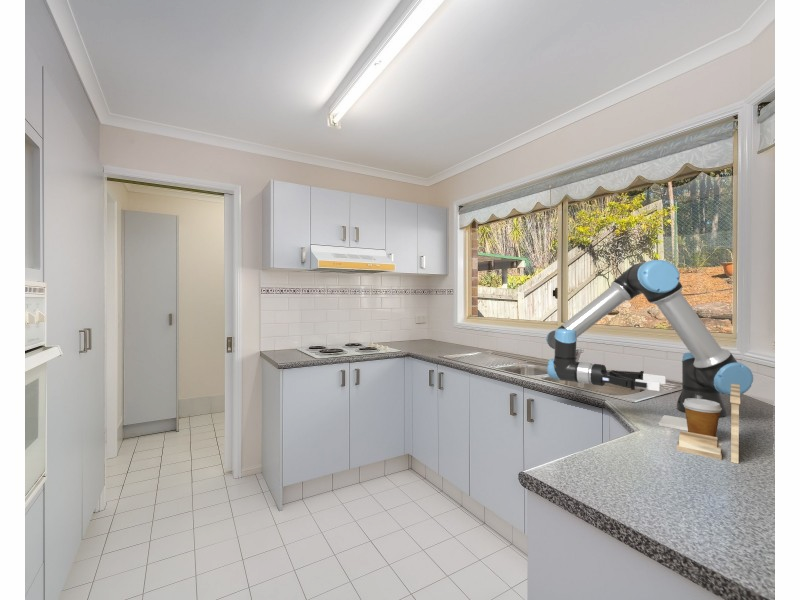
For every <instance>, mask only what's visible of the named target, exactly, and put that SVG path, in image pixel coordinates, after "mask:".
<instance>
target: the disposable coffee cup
mask: <svg viewBox="0 0 800 600" xmlns="http://www.w3.org/2000/svg"><path fill="white" fill-rule="evenodd" d="M683 405H684V407H685V412H684V413H685V419H686V420H687V427H688V431H687V432H691V433H696V434H701V435H707V436H712V437H717V431H718V426H719V419H720V417H719V415H720V412H721V410H722V408H721V407H720V404H719V403H717V402H714V401H710V400H705V399H696V398H688V399H685V401H684V403H683Z"/></svg>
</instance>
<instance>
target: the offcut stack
mask: <svg viewBox="0 0 800 600" xmlns="http://www.w3.org/2000/svg"><path fill="white" fill-rule="evenodd" d="M678 437H679V438H678V441H677V444H676V446H675V447H676V450H675V451H677V452H682V453H686V454H691V455H695V454H696V455H695V456H701V457H705V458H710V459H715V460H719V461H723V460H722V458H723V449H722V443H718V441H719V440H718V437H717V436H716V437H712V436H707V435H701V434H696V433H691V432H688V431H686V430H680V433H679V436H678Z"/></svg>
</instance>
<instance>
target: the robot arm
mask: <svg viewBox="0 0 800 600" xmlns="http://www.w3.org/2000/svg"><path fill="white" fill-rule="evenodd" d="M680 277H681V275H680V272H679V270H678V268H677V266H676V265H674V264H673V263H671V262H670V261H667V260H664V259H663V260H662V259H651V260H647V261H644V262H638V263H636V264H634V265H631V266H630V267H628V268H627V269H626V270H625V271H624V272H623V273H621V274H620V275H619V276H617V278H615V279H614V280H613V281H612V282H611V283H610V286H609V288H607V289H606V290H604V292H603V291H602V293H600V295H599V296H597V297H596V298H594V299H593V300H592V301H591V302H589V303H588V304H587V305H586V306H584V307H583V308H582V309H581V310H579V311H578V312H577V313H575V314H574V315H573V316H571V318H569V319H568V320H567V321H565V322H564V323H563V324H561V325H560V326H558V328H556V329H555V330H552V331H550V332H549V333H547V335H546V339H545V340H546V343H547V345H548V346H549V347H550V348H551V349H553V350H554V357H553V358H551V359H550V358H549V360H548V362H547V366H546V368H547V369H546V371H547V375H548V377H549V378H551V379H556V380H559V381H567V382H575V383H582V385H586V384H588V385H591V384H592V385H593V386H600V387H603V386H605V384H606V383H607V384H610V385H615V386H619V387H623V388H627V389H630V390H633V391H635V389H636V388H637V389H641V390H649V391H657V392H660V391H661V389H660V388H661V385H666V383H667V375H660V374H651V373H645V372H644V371H643V370H640V371H628V370H627V371H625V370H624V371H623V370H613V369H611V370H610V371H607V367H606V365H605V364H602V363H601V364H599V363H594V364H593V362H592V363H590V362H585V361H584V362H582V361H577V342H578V341H577V340H578V339H577V338H579V337H580V336H582V334H584V333H585V332H586V331H588V330H589V329H590V328H592V327H593V326H594V325H596V324H597V323H598V322H599V321H601V320H603V318H604V317H606V316H607V315H609V314H610V313H612V311H613V310H615V309H616V308H617V307H619V306H620V305H621V304H623V303H624V302H626V301H631V300H632V299H633V298H635V297H637V296H639V295H641V294H643V297H644V298H645V299H646V300H647V301H648V303H650V304H653V305H656V306H657V308H658V309H659V310H660V312H661V313H662V315H663V316H664V317H665V319H666V320H667V321H668V323H669V325H670V326H671V327H672V329H673V330H674V331H675V333H676V334H677V336H678V337H679V339H680V340H681V342H682V343H683V344H684V345H685V347H686V349H687V350H688V352H685V353H683V354H682V361H681V363H682V364H681V367H682V372H681V373H682V374H681V375H682V383H681V384H682V389H681V392H680V394H679V397H678V399H677V400H676V401H677V402H676V409H677V410H679V411H681V412H683V413H685V407H684V405H683V403H684V401H685V399H688V398H696V399H705V400H710V401H714V402H717V403H719V404H720V407H721V408H722V410H721V412H720V415H719V418H722V417H726V416H727V409H726V406H725V403H724V401H723V398H722V396H721V394H722V395H726V396H730V393H731V383H732V384H739V385H740V396H741V395H743V394H745V393H747V392H748V391H749V390H750V388H751V387H752V385H753V382H754V375H753V372H752V370H751V369H750V368H749V367H748V366H747V365H745V364H744V363H740V362H738V361H737V359H736V358H735V357H734V356H733V355H734V354H732V352H731V351H730V350H728V349H725V348H722V347H721V346H720V345H719V343H718V342H717V340H716V339H715V338H714V336H713V335H712V333H711V332H710V330H709V329H708V328H707V327H706V325H705V324H704V322H703V321H702V319H701V318H700V317H699V315H698V314H697V313H696V311H695V310H694V308H693V307H692V305H691V304H690V303H689V301H687V299H686V297H685V296H684V294H683V293H682V290H683V284H682V283H681V281H680Z"/></svg>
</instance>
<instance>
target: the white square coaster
mask: <svg viewBox="0 0 800 600" xmlns="http://www.w3.org/2000/svg"><path fill="white" fill-rule="evenodd" d="M658 423H659V424H658V426H659V427H666V428H671V429H676V430H680V431H685V432H688V427H687V420H686V417H684V418H683V417H680V416H679V417H678V416H673V415H665V414H664V415H663V416H662V417H661V419H660V421H659V422H658Z"/></svg>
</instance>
